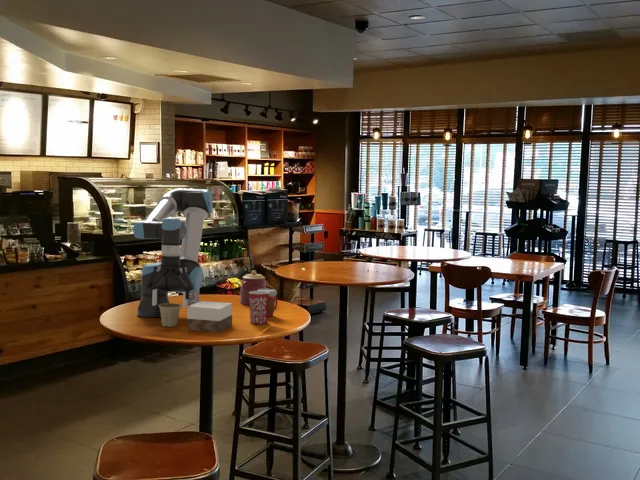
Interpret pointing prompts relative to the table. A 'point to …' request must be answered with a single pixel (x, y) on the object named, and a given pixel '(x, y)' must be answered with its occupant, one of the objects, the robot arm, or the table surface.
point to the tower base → (209, 324)
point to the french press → (193, 298)
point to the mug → (260, 306)
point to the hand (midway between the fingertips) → (169, 306)
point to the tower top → (209, 311)
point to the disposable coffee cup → (272, 301)
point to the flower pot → (169, 314)
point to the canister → (251, 286)
